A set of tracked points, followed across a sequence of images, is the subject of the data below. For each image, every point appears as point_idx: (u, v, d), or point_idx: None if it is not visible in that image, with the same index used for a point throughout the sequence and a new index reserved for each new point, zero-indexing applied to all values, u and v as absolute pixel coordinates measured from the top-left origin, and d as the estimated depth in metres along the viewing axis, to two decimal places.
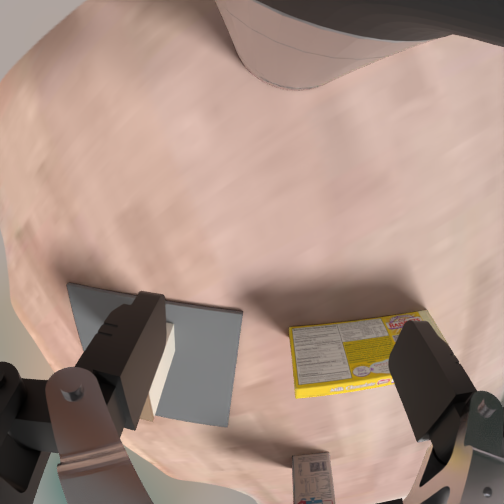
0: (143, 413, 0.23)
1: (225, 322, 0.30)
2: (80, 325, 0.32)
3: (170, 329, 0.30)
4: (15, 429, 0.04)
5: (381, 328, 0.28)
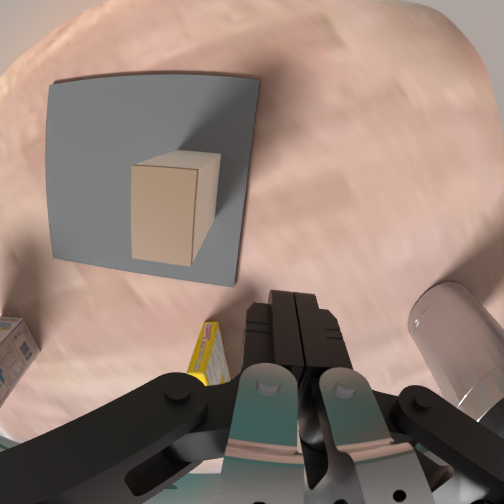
0: (148, 249, 0.18)
1: (222, 271, 0.30)
2: (192, 81, 0.23)
3: (213, 220, 0.27)
4: (192, 443, 0.05)
5: None
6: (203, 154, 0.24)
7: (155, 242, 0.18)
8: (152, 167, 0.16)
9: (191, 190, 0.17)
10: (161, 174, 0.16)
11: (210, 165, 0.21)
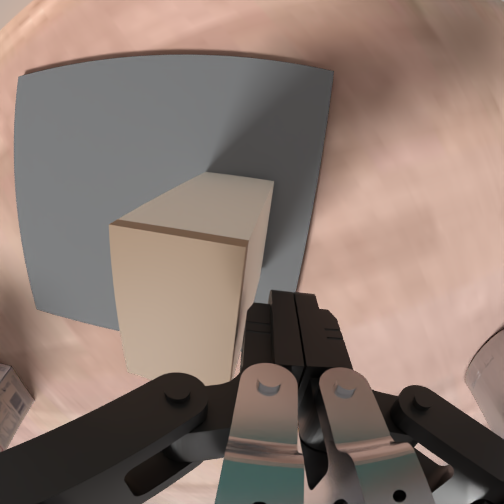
0: (152, 367, 0.10)
1: None
2: (230, 67, 0.15)
3: (258, 280, 0.18)
4: (192, 443, 0.05)
5: None
6: (247, 183, 0.15)
7: (164, 360, 0.10)
8: (149, 232, 0.08)
9: (232, 286, 0.08)
10: (168, 248, 0.08)
11: (263, 211, 0.12)
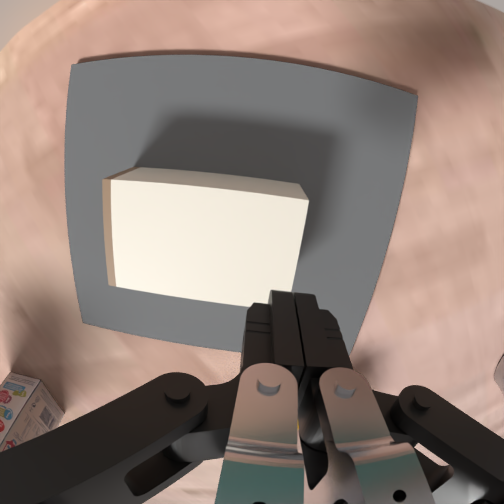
0: None
1: None
2: (327, 81, 0.15)
3: None
4: (192, 443, 0.05)
5: None
6: (267, 188, 0.15)
7: None
8: (125, 171, 0.16)
9: None
10: None
11: (191, 193, 0.14)
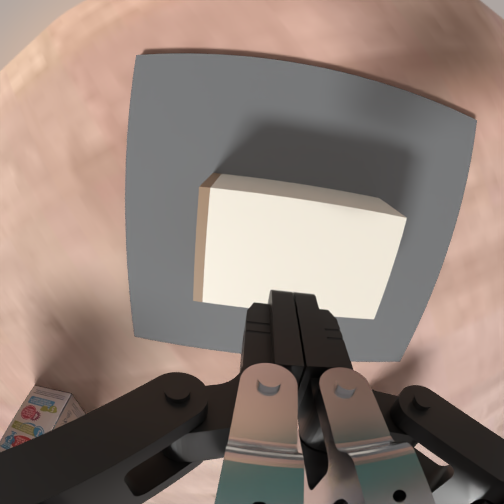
0: None
1: (394, 347, 0.22)
2: (407, 101, 0.15)
3: (359, 316, 0.16)
4: (192, 443, 0.05)
5: None
6: (365, 204, 0.14)
7: None
8: (209, 177, 0.16)
9: (198, 210, 0.14)
10: None
11: (302, 206, 0.13)
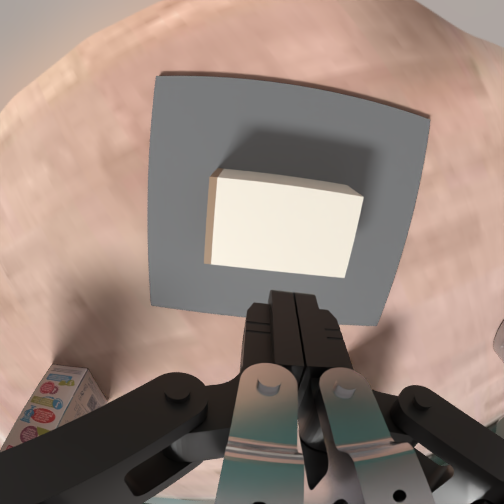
0: None
1: (370, 312, 0.27)
2: (368, 108, 0.20)
3: (332, 275, 0.21)
4: (193, 443, 0.05)
5: None
6: (332, 188, 0.20)
7: None
8: (215, 171, 0.21)
9: None
10: None
11: (283, 190, 0.19)
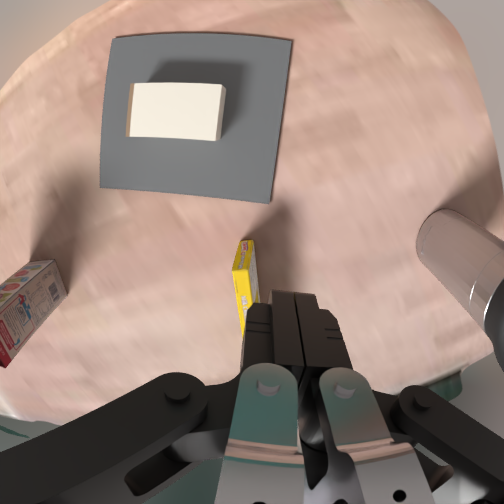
0: None
1: (260, 189, 0.35)
2: (240, 40, 0.28)
3: (205, 138, 0.29)
4: (192, 444, 0.05)
5: None
6: None
7: None
8: None
9: None
10: None
11: (170, 85, 0.27)
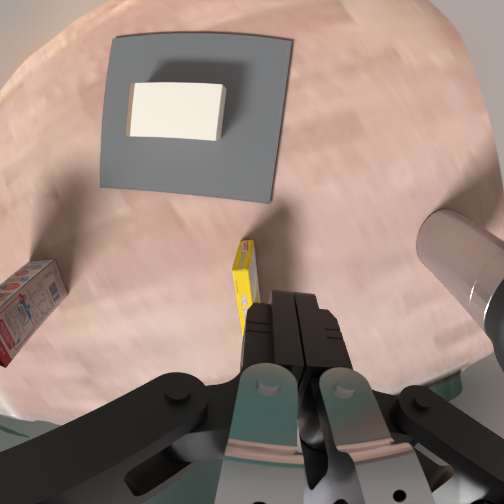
0: None
1: (260, 189, 0.35)
2: (240, 40, 0.28)
3: (206, 138, 0.29)
4: (192, 444, 0.05)
5: None
6: None
7: None
8: None
9: (130, 93, 0.27)
10: None
11: (170, 85, 0.27)
